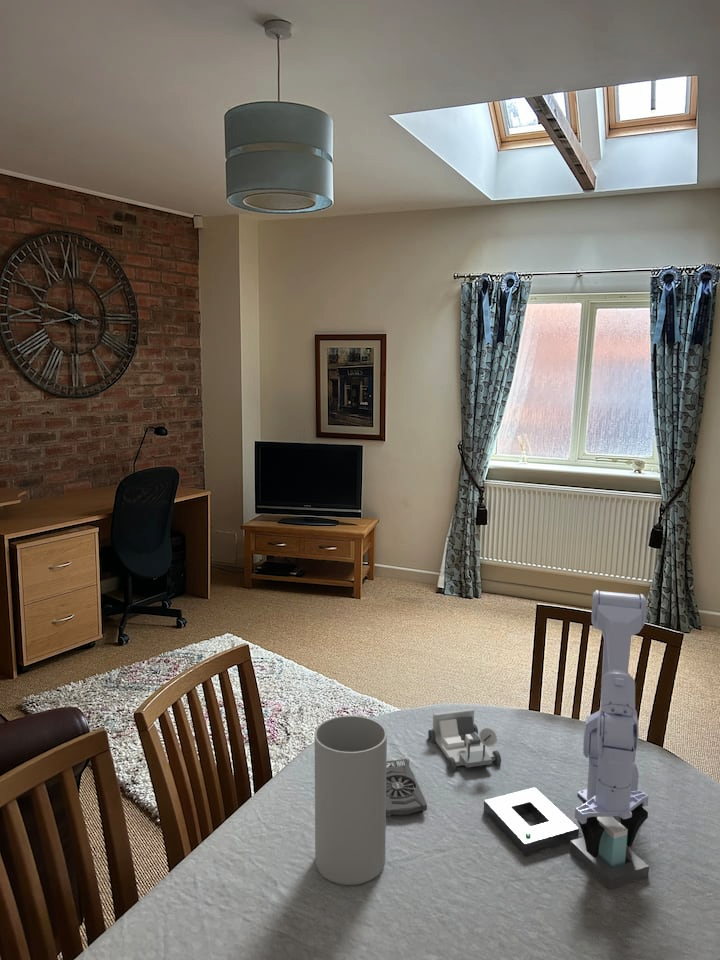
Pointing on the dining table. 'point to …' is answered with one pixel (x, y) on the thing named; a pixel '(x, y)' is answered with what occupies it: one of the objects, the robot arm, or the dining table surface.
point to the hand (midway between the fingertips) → (609, 848)
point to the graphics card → (402, 790)
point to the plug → (612, 842)
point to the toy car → (463, 739)
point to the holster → (606, 874)
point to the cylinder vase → (350, 799)
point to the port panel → (525, 838)
